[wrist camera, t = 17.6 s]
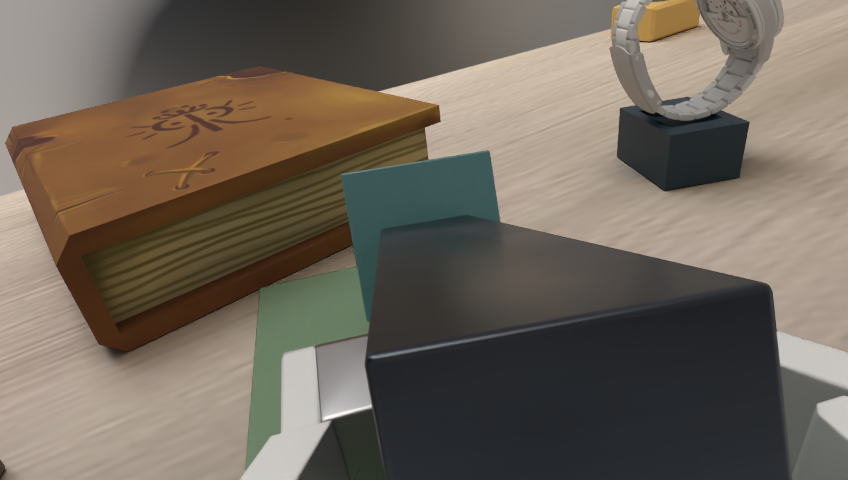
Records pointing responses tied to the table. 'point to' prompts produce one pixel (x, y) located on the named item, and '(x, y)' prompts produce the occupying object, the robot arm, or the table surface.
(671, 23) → the rubber stamp
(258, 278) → the diary
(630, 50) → the watch
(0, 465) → the stand
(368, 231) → the teal headed hammer
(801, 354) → the robot arm
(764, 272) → the table surface
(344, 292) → the mat
